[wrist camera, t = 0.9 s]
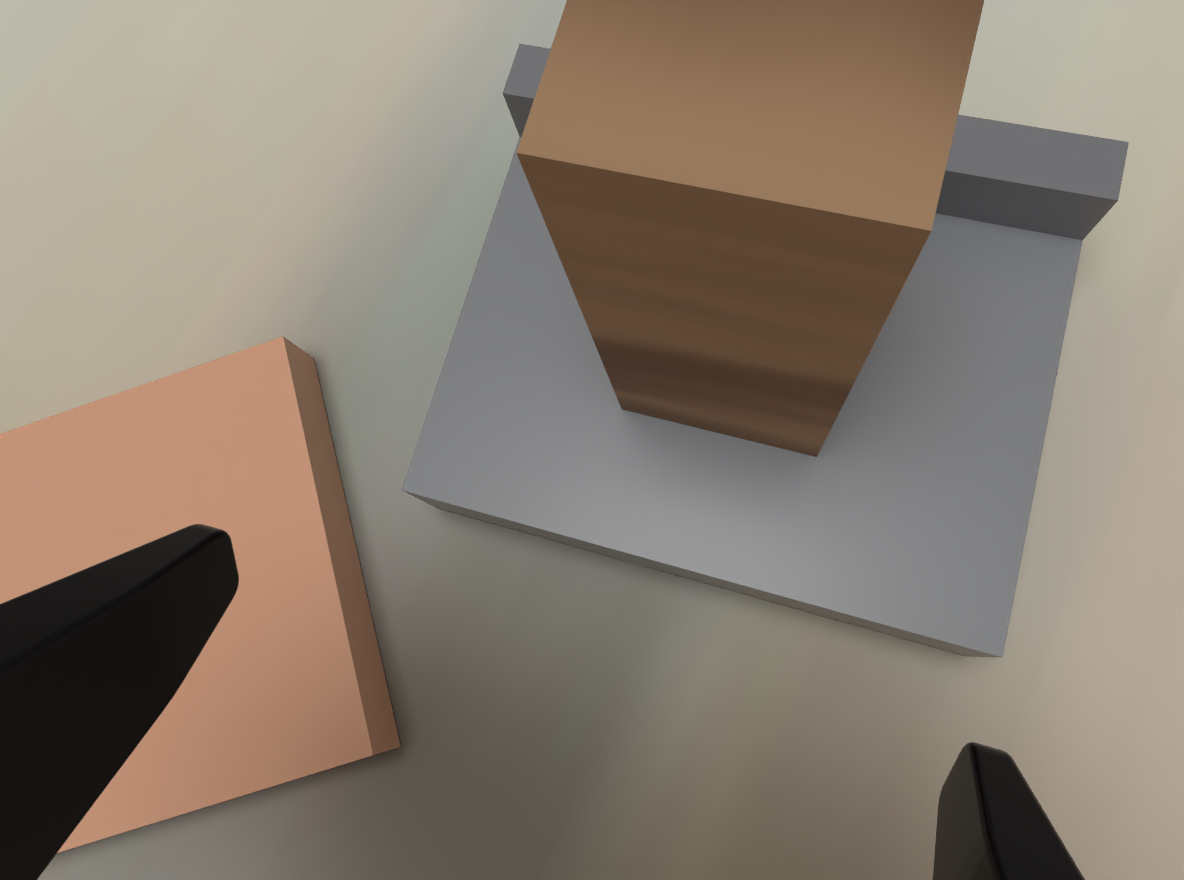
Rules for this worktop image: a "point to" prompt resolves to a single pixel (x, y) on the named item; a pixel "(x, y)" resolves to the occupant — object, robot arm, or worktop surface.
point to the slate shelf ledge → (777, 476)
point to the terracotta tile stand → (264, 561)
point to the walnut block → (744, 193)
